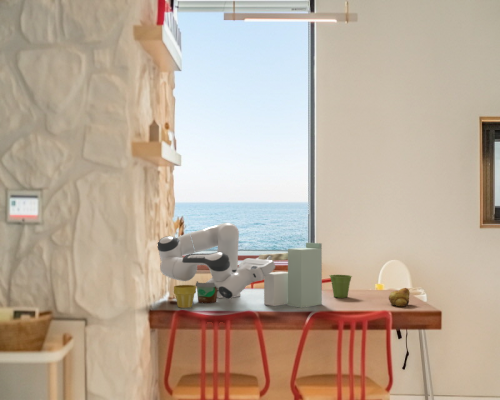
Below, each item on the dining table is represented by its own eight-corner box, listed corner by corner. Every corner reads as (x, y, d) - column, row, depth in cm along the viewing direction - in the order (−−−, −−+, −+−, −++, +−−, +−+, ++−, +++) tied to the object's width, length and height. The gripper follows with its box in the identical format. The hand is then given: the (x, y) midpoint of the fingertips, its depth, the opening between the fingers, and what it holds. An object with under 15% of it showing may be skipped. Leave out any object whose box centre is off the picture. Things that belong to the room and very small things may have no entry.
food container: (191, 302, 253) (191, 282, 254) (196, 300, 259) (196, 281, 259) (213, 304, 249) (214, 283, 249) (219, 302, 255) (219, 282, 255)
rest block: (274, 306, 244) (273, 274, 244) (264, 304, 249) (264, 273, 250) (292, 303, 252) (291, 272, 252) (282, 301, 257) (282, 271, 258)
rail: (263, 261, 242) (263, 254, 242) (259, 260, 244) (259, 254, 244) (294, 258, 255) (294, 252, 255) (289, 258, 257) (289, 252, 257)
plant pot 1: (175, 304, 248) (175, 284, 248) (197, 305, 247) (197, 284, 248) (171, 308, 237) (171, 287, 238) (194, 308, 237) (194, 287, 237)
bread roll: (409, 308, 239) (409, 290, 239) (387, 307, 242) (387, 290, 242) (409, 303, 251) (409, 287, 252) (389, 302, 254) (389, 286, 255)
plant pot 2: (356, 298, 268) (356, 276, 268) (336, 299, 264) (336, 277, 264) (344, 294, 279) (344, 274, 279) (325, 296, 275) (325, 274, 275)
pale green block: (301, 307, 240) (301, 244, 240) (288, 305, 246) (287, 243, 247) (321, 304, 249) (321, 243, 249) (308, 302, 255) (308, 242, 256)
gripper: (237, 276, 247) (256, 260, 255) (264, 280, 231) (284, 263, 239) (231, 265, 245) (251, 250, 253) (259, 269, 229) (279, 252, 237)
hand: (267, 256), depth 246 cm, fingers closed on rail, 3 cm apart
